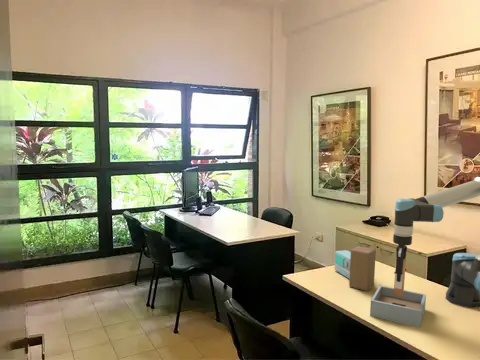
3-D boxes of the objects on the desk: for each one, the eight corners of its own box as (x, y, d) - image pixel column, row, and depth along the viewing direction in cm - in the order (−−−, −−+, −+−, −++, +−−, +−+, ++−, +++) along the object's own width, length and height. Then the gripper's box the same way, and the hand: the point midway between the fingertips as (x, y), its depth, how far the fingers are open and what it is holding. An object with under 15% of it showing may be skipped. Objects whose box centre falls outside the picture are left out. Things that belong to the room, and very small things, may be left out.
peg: (403, 293, 171) (406, 258, 169) (402, 296, 167) (405, 261, 166) (394, 291, 173) (396, 257, 171) (392, 294, 169) (395, 259, 168)
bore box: (425, 309, 175) (426, 294, 174) (420, 327, 158) (421, 311, 157) (378, 299, 185) (379, 285, 184) (369, 315, 168) (370, 300, 167)
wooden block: (356, 281, 208) (357, 245, 205) (374, 286, 201) (376, 249, 199) (348, 286, 200) (350, 249, 198) (367, 292, 194) (369, 253, 191)
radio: (332, 271, 223) (333, 237, 221) (346, 269, 226) (347, 236, 224) (347, 281, 208) (349, 244, 206) (362, 279, 211) (364, 243, 209)
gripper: (396, 229, 176) (393, 278, 179) (390, 237, 162) (386, 291, 164) (414, 231, 173) (410, 282, 175) (409, 240, 158) (405, 294, 161)
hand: (399, 286), depth 170 cm, fingers closed on peg, 4 cm apart
